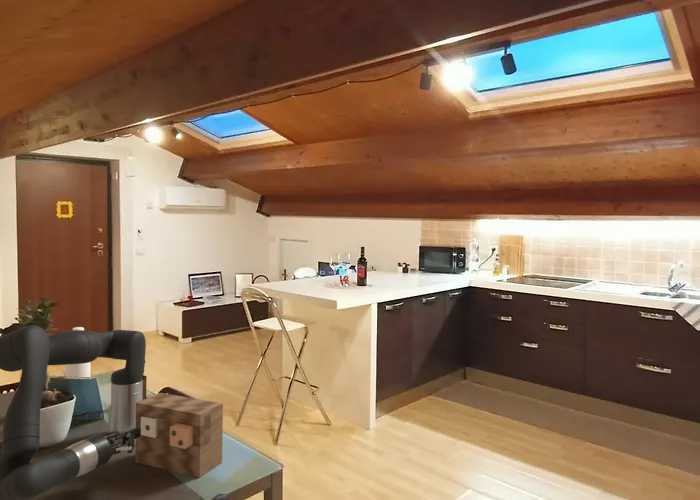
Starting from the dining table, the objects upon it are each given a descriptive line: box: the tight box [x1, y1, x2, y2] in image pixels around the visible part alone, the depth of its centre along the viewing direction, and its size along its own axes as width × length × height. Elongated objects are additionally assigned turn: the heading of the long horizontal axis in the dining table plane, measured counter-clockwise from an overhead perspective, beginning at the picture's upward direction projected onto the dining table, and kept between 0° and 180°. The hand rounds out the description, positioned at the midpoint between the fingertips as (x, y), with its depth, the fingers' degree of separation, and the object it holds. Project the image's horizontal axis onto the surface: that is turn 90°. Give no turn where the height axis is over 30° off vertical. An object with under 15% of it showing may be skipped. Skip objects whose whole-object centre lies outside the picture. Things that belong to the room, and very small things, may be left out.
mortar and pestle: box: [142, 371, 148, 400], centre depth 196 cm, size 7×6×18 cm
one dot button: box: [141, 416, 158, 438], centre depth 150 cm, size 5×5×5 cm
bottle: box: [65, 326, 91, 378], centre depth 188 cm, size 8×8×30 cm
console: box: [134, 392, 224, 479], centre depth 151 cm, size 22×10×17 cm, turn 68°
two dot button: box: [170, 423, 194, 449], centre depth 143 cm, size 5×5×5 cm
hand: (138, 431), depth 144 cm, fingers closed
